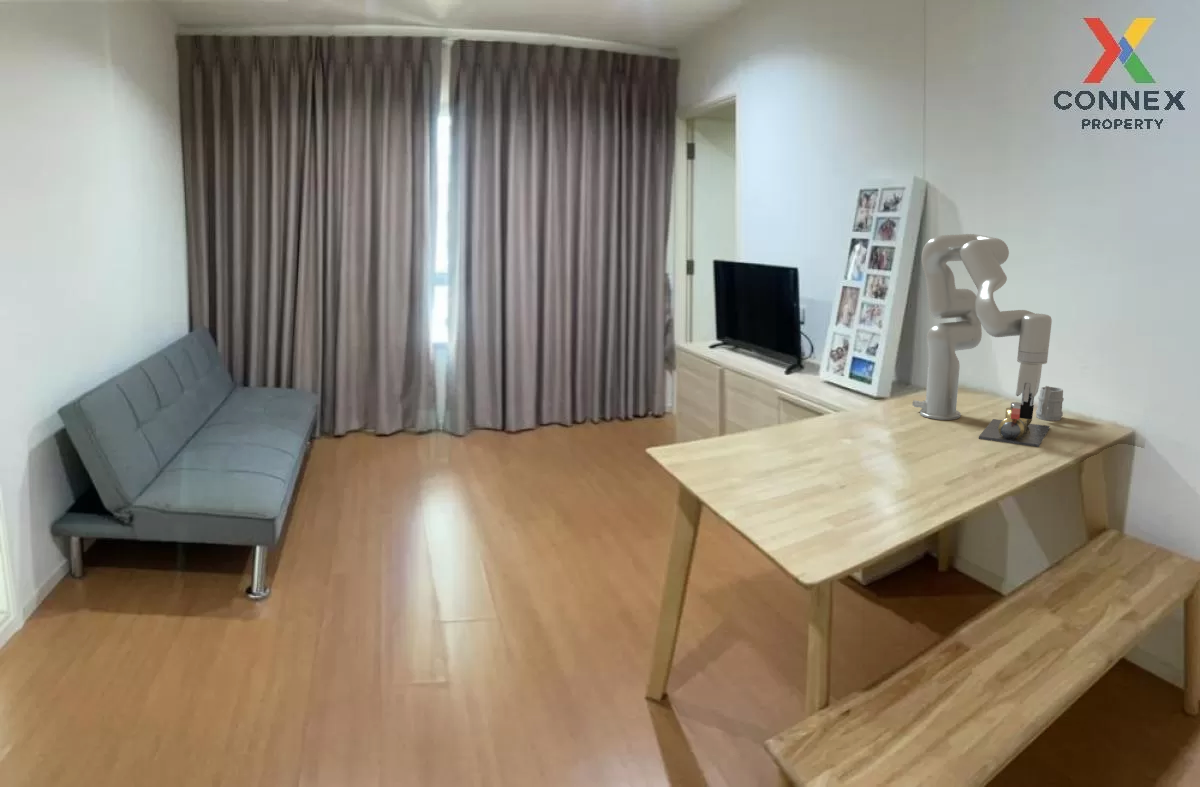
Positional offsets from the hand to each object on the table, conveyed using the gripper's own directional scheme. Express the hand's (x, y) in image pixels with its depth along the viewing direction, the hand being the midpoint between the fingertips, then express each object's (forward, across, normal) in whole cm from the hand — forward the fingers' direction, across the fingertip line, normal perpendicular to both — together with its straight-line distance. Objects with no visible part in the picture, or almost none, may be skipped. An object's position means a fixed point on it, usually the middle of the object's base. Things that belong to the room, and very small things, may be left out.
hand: (1025, 417), depth 218 cm
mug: (+8, -32, +3) cm, 33 cm away
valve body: (+8, -10, -4) cm, 13 cm away
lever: (0, -4, -3) cm, 5 cm away
